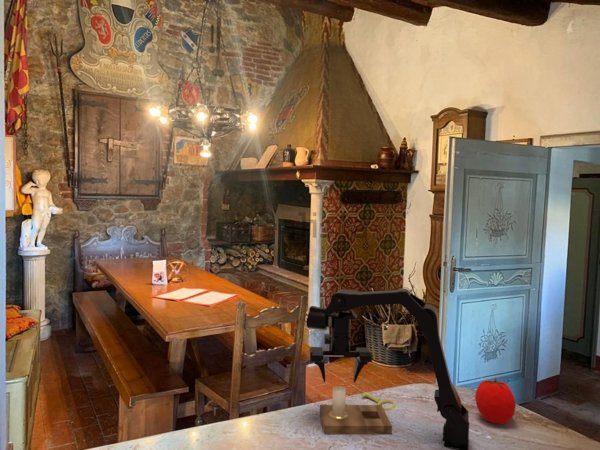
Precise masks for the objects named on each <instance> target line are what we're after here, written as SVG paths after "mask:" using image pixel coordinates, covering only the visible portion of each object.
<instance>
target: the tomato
mask: <svg viewBox="0 0 600 450" xmlns="http://www.w3.org/2000/svg"><path fill="white" fill-rule="evenodd" d="M510 388H511V387H509V385H508V383H506V382H503V381H497V377H494V379H493V380H492V379H488V380H487V379H486V380H483V381H481V382H480V383H479V384H478V386H477V388H476V391H475V394H474V396H475V398H474V399H475V403H476V407H477V410H478V412H479V414H480V415H481V416H482V418H483V419H484V420H486V421H487V422H490V423H493V424H497V425H498V424H500V425H502V424H507V423H508V422H510V421H511V420H512V418H513V417H514V416H515V412H516V405H517V404H516V398H515V395H514V393H513V392H512V390H511V389H510Z"/></svg>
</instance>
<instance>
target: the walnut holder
mask: <svg viewBox="0 0 600 450" xmlns="http://www.w3.org/2000/svg"><path fill="white" fill-rule="evenodd" d="M383 407H384V406H383V404H382V405H377V404H345V412H347V413H348V417H347V418H345V419H334V418H331V417H330V416H329V412H330V411H332V404H320V405H319V415H320V421H321V425H322V429H323V430H322V431H323V434H324V435H393V425H392V423H391V420H390V418H389V417H388V415H387V413H386V410H384V409H383Z"/></svg>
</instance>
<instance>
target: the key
mask: <svg viewBox="0 0 600 450" xmlns="http://www.w3.org/2000/svg"><path fill="white" fill-rule="evenodd" d="M360 396H361V397H362V398H363V397H364V398H365V397H367V398H368V399H370V400H371V401H373V402H375V403H376V405H382V407H383V409H384V411H390V410H392V409H394V408H396V402H395V401H394V400H391V399H383V400H382V399H381V398H377V397H375V396H374V395H372V394H370V393H368V392H366V391H364V392H363V393H362V394H360ZM384 404H391V406H389V407H384V406H383V405H384Z"/></svg>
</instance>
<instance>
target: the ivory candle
mask: <svg viewBox="0 0 600 450" xmlns="http://www.w3.org/2000/svg"><path fill="white" fill-rule="evenodd" d="M346 394H347V388H345V387H344V386H341V385H336V386H333V387H332V402H331V403H332V404H331V405H332V415H333V416H335V417H343V416H345V405H346V400H347V398H346Z"/></svg>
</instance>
